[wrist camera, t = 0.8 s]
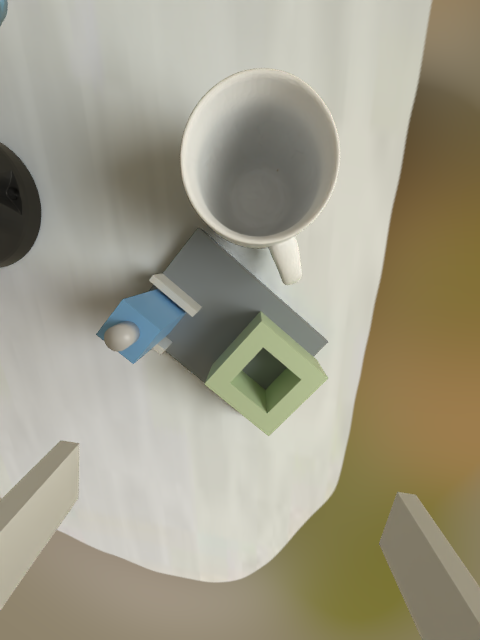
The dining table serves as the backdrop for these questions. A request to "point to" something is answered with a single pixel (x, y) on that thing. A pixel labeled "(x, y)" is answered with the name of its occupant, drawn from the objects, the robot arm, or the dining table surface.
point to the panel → (223, 310)
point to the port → (283, 392)
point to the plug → (140, 323)
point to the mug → (261, 162)
